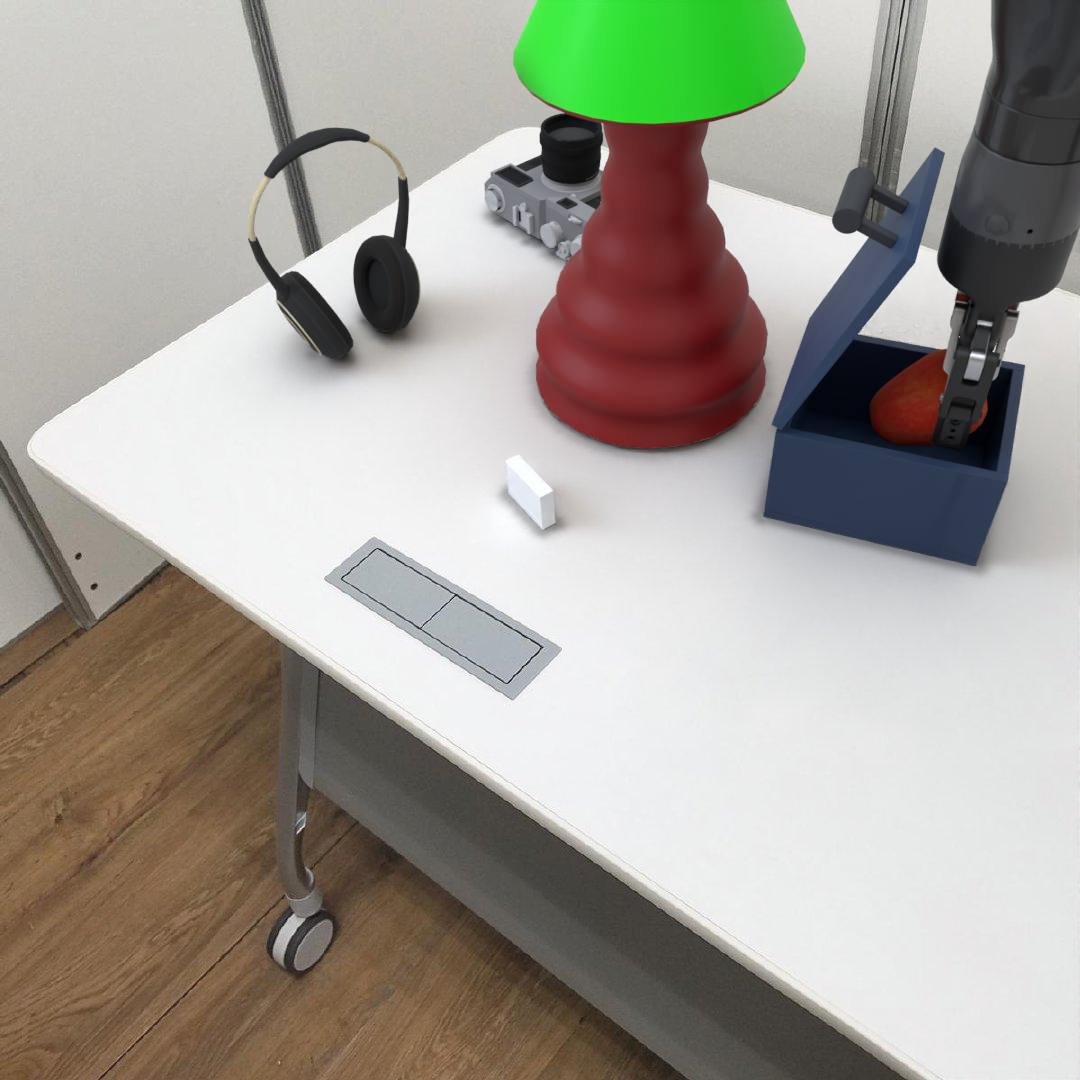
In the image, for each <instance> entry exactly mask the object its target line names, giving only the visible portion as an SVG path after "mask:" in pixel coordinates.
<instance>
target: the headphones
mask: <svg viewBox="0 0 1080 1080" xmlns="http://www.w3.org/2000/svg"><path fill="white" fill-rule="evenodd" d="M339 142H360V143H367V144H370V145H373V146H374V147H377V148H378V149H380V150H381V151H382V152H384V153H385V155H387V156H388V158H390V160H391V161H392V163H393V164H394V166H395V168H396V169H397V173H398V176H397V181H398V183H397V184H398V185H397V186H398V188H397V189H398V202H397V213H396V219H395V224H394V231H393V236H390V235H386V234H379V235H372V236H369V237H368V238H367V239H365V240H363V241H362V243H361V244H360V246H359V248H358V249H357V251H356V254H355V256H354V261H353V269H352V270H353V271H352V273H353V275H352V276H353V277H352V279H353V289H354V293H355V298H356V300H357V301H356V302H357V303H358V307H359V310H360V311H361V313H362V315H363V317H364V318H365V320H366V321H367V323H369V325H371V326H372V327H373V328H374V329H375V330H377V331H380V332H383V333H387V334H388V333H396V332H399V331H402V330H403V329H404V330H405V328H406V327H407V326H408V325H409V324H410V322H411V321H412V319H413V318H414V316H415V314H416V311H417V309H418V307H419V304H420V299H421V279H420V278H421V277H420V273H419V269H418V267H417V264H416V262H415V260H414V258H413V256H412V255H411V253H409V251H408V249H407V239H408V238H407V237H408V230H409V229H408V228H409V216H410V215H409V214H410V213H409V212H410V194H409V184H408V182H409V181H408V177H407V176H406V173H405V169H404V167H403V165H402V163H401V161H400V160H399V159H398V157H397V156H396V155H395V154H394V152H393V151H392V150H391V149H390V148H388V147H387V146H386V145H385V144H384V143H382V142H381V141H379V140H377V139H376V138H375V139H374V138H373V137H371V136H370V134H369V133H366V132H363V131H360V130H357V129H354V128H349V127H348V128H347V127H325V128H320V129H316V130H312V131H308V132H306V133H305V134H303V135H301V136H299V137H297V138H295V139H293V140H292V141H290V143H288V144H287V145H286V146H284V147H283V149H282V150H281V151H280V152H278V154H277V155H276V156H274V157H273V159H272V160H271V162H270V163H269V165H268V166H267V168H266V170H265V171H264V173H263V177H262V179H261V181H260V182H259V185H258V186H257V188H256V190H255V192H254V194H253V197H252V200H251V203H250V206H249V210H248V214H247V215H248V217H247V235H248V239H247V241H248V243H249V246H250V249H251V251H252V253H253V256H254V259H255V261H256V263H257V264H258V266H259V267H260V269H261V271H262V273H263V274H264V276H265V277H266V279H267V280H268V282H269V283H270V285H271V286H272V288H273V289H274V290H275V296H276V297H275V298H276V299H275V302H276V304H277V306H278V308H279V310H280V311H281V313H282V316H283V317H284V318H285V319H286V321H288V323H289V324H290V326H291V327H292V328H293V330H294V331H295V332H296V333H297V335H298V336H299V337H300V338H301V340H303V342H305V344H306V345H307V346H308V347H310V349H312V350H313V351H314V352H315V353H317V354H318V355H319V356H321V357H322V356H324V357H328V358H334V359H341V358H343V357H346V355H347V354H349V353H350V352H351V350H352V348H353V347H354V338H353V337H352V334H351V333H350V331H349V329H348V328H347V326H346V325H345V323H344V322H343V321H342V319H341V318H340V317H339V315H338V314H337V313H336V311H335V310H334V309H333V307H332V306H331V305H330V303H328V301H327V300H326V299H325V298H324V297H323V295H322V294H321V293H320V292H319V291H318V290H317V288H316V287H315V286H314V285H313V284H312V283H311V281H309V279H307V278H306V277H305V276H304V275H303V274H301V273H300V272H299V271H295V270H291V271H287V272H285V273H284V274H283V275H281V276H280V274H279V273H278V272H277V271H276V270H275V268H274V266H273V265H272V264H271V263H270V260H268V258H267V256H266V254H265V251H264V249H263V247H262V245H261V243H260V241H259V238H258V237H257V236H256V233H255V219H256V212H257V209H258V206H259V203H260V201H261V198H262V196H263V193H264V191H265V190H266V188H267V187H268V185H269V183H270V182H271V180H274V179H275V178H276V176H277V175H278V174H279V173H280V172H282V171H283V169H285V168H286V167H287V166H289V165H290V164H292V163H293V162H294V161H295V160H297V159H299V158H300V157H302V156H303V155H305V154H308V153H309V152H312V151H316V150H319V149H321V148H323V147H326V146H328V145H331V144H334V143H339Z"/></svg>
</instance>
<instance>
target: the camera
mask: <svg viewBox="0 0 1080 1080" xmlns="http://www.w3.org/2000/svg"><path fill="white" fill-rule="evenodd" d="M539 144H540V146H541V151H540V154H539V155H537V156H535V157H532V158H530V159H528V160H526V161H523V162H521V163H520V164H517V165H515V164H513V163H508V164H505V165H504V166H501V167H499V168H497V169H494V170H492V171H490V177H489V178H488V179H487V180H486V181H485V182H484V183H483V185H484V201H485V204H486V206H487V208H488V209H489V210H490V211H492V212H493V213H495V214H496V215H498V216H500V217H501V218H503V219H505V220H507V221H508V222H510V223H512V224H513V226H515V227H518V228H520V229H522V230H523V231H525V232H526V233H527V234H528V235H531V236H532V237H534V238H536V239H538V240H541V241H542V242H543V244H544V245H545V246H546V247H547V248H549V249H553V248H555V247H557V250H555V255H556V256H558V257H559V258H561V259H562V260H564V261H566V262H568V261H569V259H570V258H571V257H572V256H573V255H574V254H575V253H576V252H577V251H578V250H579V249H580V248H581V239H582V234H583V230H584V227H585V225H586V223H587V222H588V220H589V218H590V217H591V215H592V214H593V213H594V211H595V210H596V209H597V208H598V207H599V205H600V204H601V190H600V181H601V177H602V173H603V170H602V169H600V168H601V159H602V145H603V144H604V131H603V123H598V122H593V121H589V120H586V119H582V118H578V117H575V116H571V115H568V114H566V113H564V112H562V113H558V114H554V115H551V116H549V117H547V118H545V119H544V120H543V121H542V122H541V124H540V132H539Z"/></svg>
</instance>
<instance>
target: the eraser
mask: <svg viewBox="0 0 1080 1080" xmlns="http://www.w3.org/2000/svg"><path fill="white" fill-rule="evenodd" d="M504 467H505V475H506V485H507V493H508V495H509V496H510V497H511V498H512V499H513V500H514V501H515V502H516V503H517V505H518V506H519V507H520V508H521V509H522V510H523V511H524V512H525V513H526V514H527V516H529V518H531V519H532V520H533V521H534V522H535V524H536V525H537V527H539V528H540V529H541V530H542V531H543V530H545V529H547V528H549V527H551V526H553V525H554V524H556V510H555V498H554V497H555V494H554V493H555V492H554V489H552V487H551V486H550V485H548V483H546V481H545V480H544V479H543V478H542V477H541V476H540V475H539V474H538V473H537V472H536V471H535V470H534V469H533V468H532V467H531V466H530V465H529V464H528V463H527V462H526V461H525V460H524V459H523V458H522V457H521V456H520V455H519V454H515V455H514V456H512V457H510V458H508V459H506V460H504Z"/></svg>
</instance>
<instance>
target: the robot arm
mask: <svg viewBox="0 0 1080 1080" xmlns="http://www.w3.org/2000/svg"><path fill="white" fill-rule="evenodd" d="M990 34H991V35H990V37H991V49H992V50H991V51H992V52H991V53H992V55H991V56H992V57H991V62H990V65H989V68H988V71H987V74H986V79H985V82H984V86H983V89H982V94H981V97H980V102H979V106H978V109H977V113H976V118H975V122H974V124H973V128H972V132H971V134H970V137H969V139H968V142H967V144H966V146H965V147H964V148H965V149H964V151H963V154H962V156H961V158H960V159H961V160H960V162H959V166H958V171H957V175H956V178H955V182H954V185H953V190H952V193H951V197H950V202H949V206H948V209H947V214H946V218H945V222H944V226H943V230H942V233H941V238H940V242H939V246H938V250H937V255H936V265H937V267H938V270H939V272H940V274H941V276H942V277H943V278H944V279H945V281H946V282H947V283H948V284H949V285H951V286H952V287H954V289H956V293H955V298H954V304H953V309H952V313H951V316H950V320H949V326H950V328H951V332H950V336H949V340H948V343H947V347H946V349H947V351H946V354H945V358H944V362H943V369H944V371H945V372H946V373H947V374H948V378H947V382H946V385H945V389H944V393H943V394H942V393H941V396H940V400H939V401H941V403H939V407H938V411H940V412H939V416H938V419H937V422H936V426H935V429H934V433H933V437H932V443H933V444H934V445H935V446H939V447H943V448H948V449H953V450H962V449H964V448H965V445H966V442H967V439H968V436H969V433H970V430H971V427H972V423H974V424H977V423H978V421H979V419H981V418H982V414H983V412H982V409H983V406H984V403H985V400H986V397H987V394H988V391H989V389H990V386H991V383H992V381H993V380H995V379H996V378H997V376H998V373H999V369H1000V366H1001V362H1002V361H1003V358H1004V354H1005V352H1006V348H1007V345H1008V341H1009V340H1010V339H1011V338H1012V337H1013V336H1014V335H1015V332H1016V328H1017V325H1018V322H1019V316H1020V310H1018V309H1019V307H1020V304H1022V303H1025V302H1030V301H1034V300H1036V299H1039V298H1042V297H1044V296H1046V295H1048V294H1049V293H1050V292H1052V291H1053V290H1054V289H1055V288H1056V287H1057V286H1058V285H1059V283H1060V282H1061V281H1062V278H1063V276H1064V274H1065V271H1066V268H1067V264H1068V262H1069V260H1070V256H1071V254H1072V251H1073V248H1074V245H1075V242H1076V239H1077V237H1078V233H1079V231H1080V0H991V1H990ZM955 350H957V351H955Z"/></svg>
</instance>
